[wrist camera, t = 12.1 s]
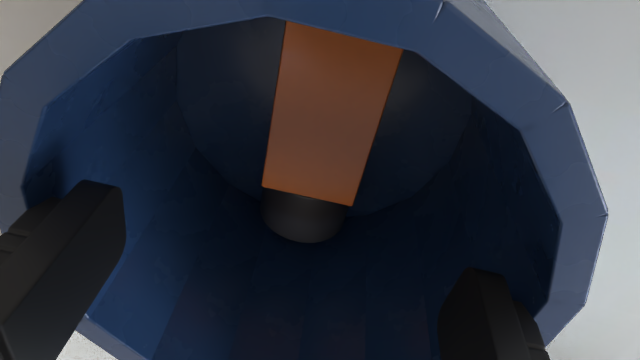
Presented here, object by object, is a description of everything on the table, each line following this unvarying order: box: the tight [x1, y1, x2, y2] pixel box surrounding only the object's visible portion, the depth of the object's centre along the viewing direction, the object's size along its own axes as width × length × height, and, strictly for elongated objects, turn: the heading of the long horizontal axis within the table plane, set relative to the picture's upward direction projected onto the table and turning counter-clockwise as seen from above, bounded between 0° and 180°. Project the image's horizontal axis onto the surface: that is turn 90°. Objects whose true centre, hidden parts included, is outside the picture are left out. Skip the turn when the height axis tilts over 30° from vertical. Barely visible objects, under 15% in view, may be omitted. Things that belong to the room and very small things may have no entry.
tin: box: [0, 0, 608, 360], centre depth 13 cm, size 13×13×9 cm
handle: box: [260, 21, 404, 243], centre depth 15 cm, size 8×3×3 cm, turn 169°
